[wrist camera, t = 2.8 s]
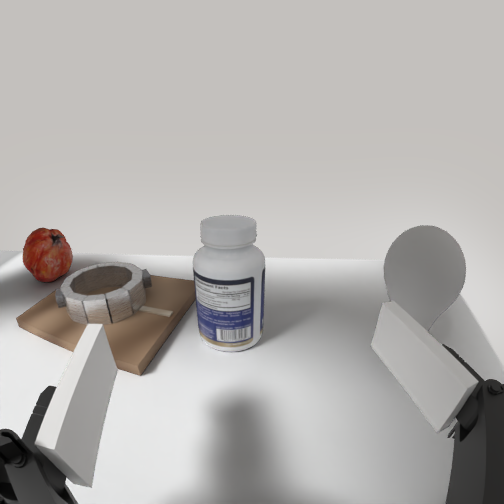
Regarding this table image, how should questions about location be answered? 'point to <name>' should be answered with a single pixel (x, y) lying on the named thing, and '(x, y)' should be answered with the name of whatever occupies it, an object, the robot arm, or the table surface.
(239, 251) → the pill bottle
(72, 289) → the ring
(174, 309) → the base plate
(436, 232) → the lightbulb
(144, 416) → the table surface
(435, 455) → the table surface
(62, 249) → the pomegranate
